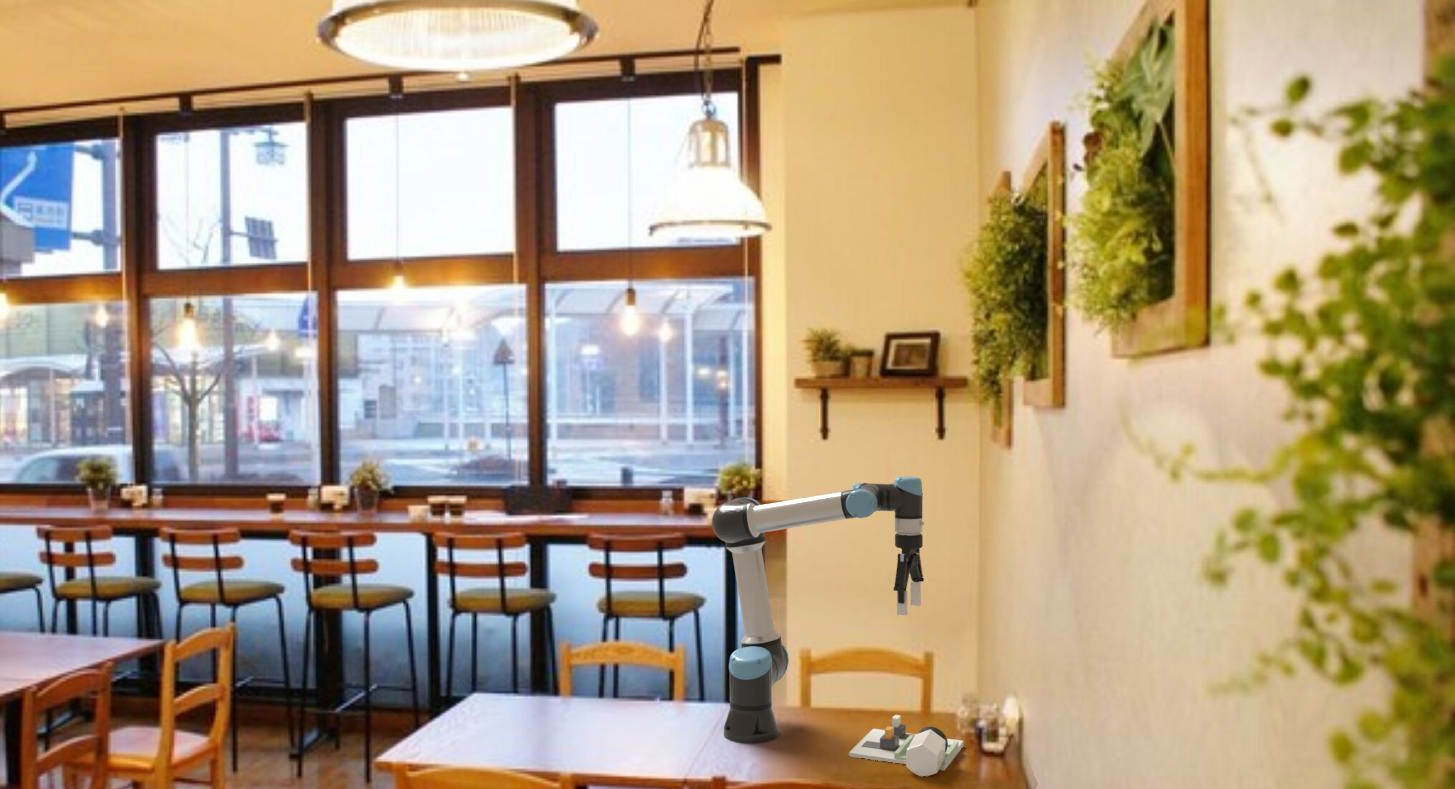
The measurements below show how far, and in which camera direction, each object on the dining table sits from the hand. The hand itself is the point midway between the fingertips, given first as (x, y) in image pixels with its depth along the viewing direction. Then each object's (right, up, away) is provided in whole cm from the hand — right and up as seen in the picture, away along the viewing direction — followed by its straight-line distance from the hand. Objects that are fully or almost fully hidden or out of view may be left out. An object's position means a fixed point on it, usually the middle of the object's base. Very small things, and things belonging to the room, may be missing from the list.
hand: (909, 609), depth 297 cm
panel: (-3, -35, -13) cm, 37 cm away
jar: (-2, -31, -32) cm, 45 cm away
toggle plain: (-4, -33, -4) cm, 34 cm away
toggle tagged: (-7, -33, -14) cm, 37 cm away
